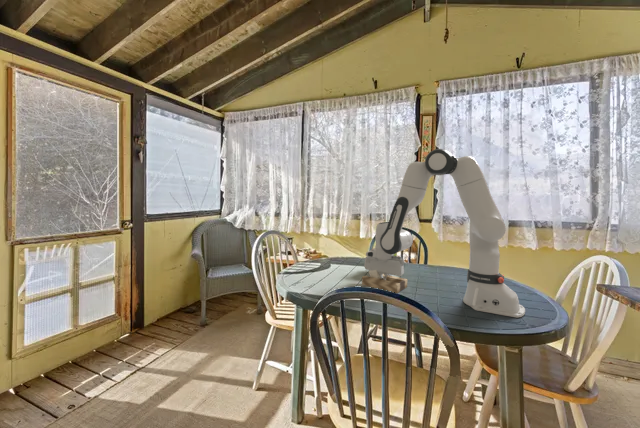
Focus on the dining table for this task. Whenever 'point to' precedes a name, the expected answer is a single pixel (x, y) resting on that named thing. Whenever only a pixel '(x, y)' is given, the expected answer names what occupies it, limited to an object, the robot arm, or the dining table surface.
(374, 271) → the block
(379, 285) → the trough
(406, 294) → the dining table surface
